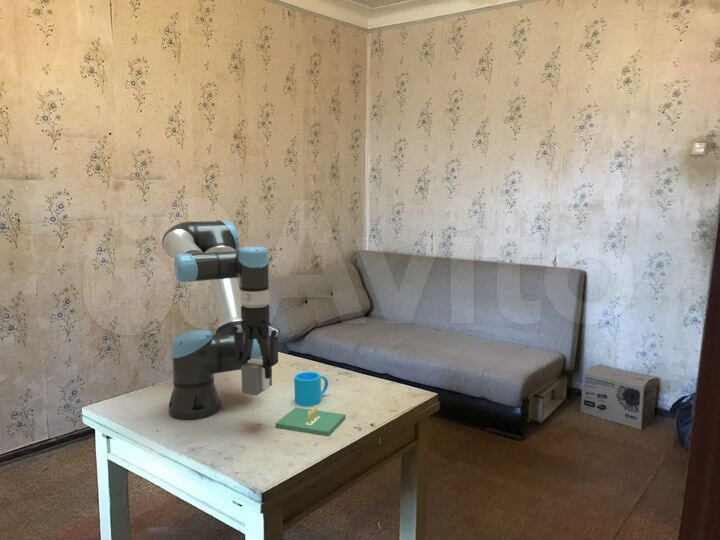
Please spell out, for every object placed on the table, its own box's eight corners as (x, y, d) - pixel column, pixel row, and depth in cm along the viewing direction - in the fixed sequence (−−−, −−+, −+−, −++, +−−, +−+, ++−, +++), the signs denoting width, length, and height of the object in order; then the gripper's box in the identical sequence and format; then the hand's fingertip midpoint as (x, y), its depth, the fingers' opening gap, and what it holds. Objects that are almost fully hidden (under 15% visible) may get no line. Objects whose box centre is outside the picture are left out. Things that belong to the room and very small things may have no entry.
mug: (305, 408, 164) (304, 382, 163) (289, 401, 170) (289, 376, 169) (335, 398, 172) (335, 373, 171) (320, 391, 178) (319, 367, 177)
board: (275, 427, 151) (275, 411, 150) (295, 411, 162) (295, 396, 161) (328, 435, 145) (328, 419, 145) (345, 418, 157) (345, 402, 156)
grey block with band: (241, 393, 146) (241, 364, 145) (258, 382, 154) (257, 355, 152) (256, 395, 144) (255, 366, 143) (272, 385, 152) (271, 356, 151)
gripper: (219, 305, 145) (222, 388, 149) (277, 310, 139) (279, 397, 143) (234, 299, 152) (237, 379, 156) (290, 304, 146) (292, 387, 150)
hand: (257, 387), depth 149 cm, fingers closed on grey block with band, 4 cm apart
